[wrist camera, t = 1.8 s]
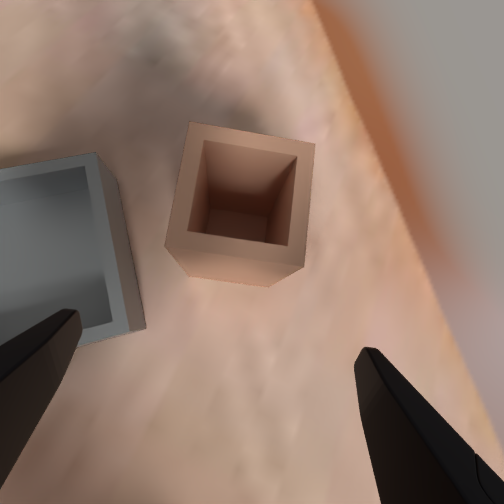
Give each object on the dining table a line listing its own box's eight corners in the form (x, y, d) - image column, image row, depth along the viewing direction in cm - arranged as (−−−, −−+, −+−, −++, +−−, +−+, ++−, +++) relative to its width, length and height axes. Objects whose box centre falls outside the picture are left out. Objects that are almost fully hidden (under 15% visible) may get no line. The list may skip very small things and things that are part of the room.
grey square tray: (146, 328, 21) (129, 331, 17) (-36, 377, 19) (-100, 393, 15) (116, 179, 23) (95, 152, 19) (-51, 211, 21) (-111, 188, 18)
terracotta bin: (268, 287, 23) (304, 266, 13) (188, 276, 22) (164, 246, 12) (276, 213, 24) (315, 143, 14) (202, 201, 24) (189, 121, 14)
